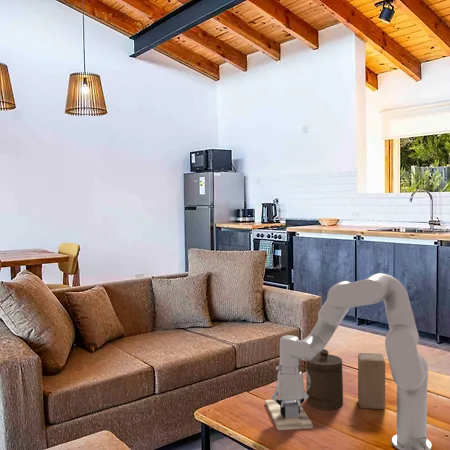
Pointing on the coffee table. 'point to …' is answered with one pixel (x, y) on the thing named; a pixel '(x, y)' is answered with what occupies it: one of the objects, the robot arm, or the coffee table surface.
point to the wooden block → (371, 380)
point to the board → (282, 422)
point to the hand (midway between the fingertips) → (290, 415)
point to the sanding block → (291, 410)
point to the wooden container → (325, 381)
